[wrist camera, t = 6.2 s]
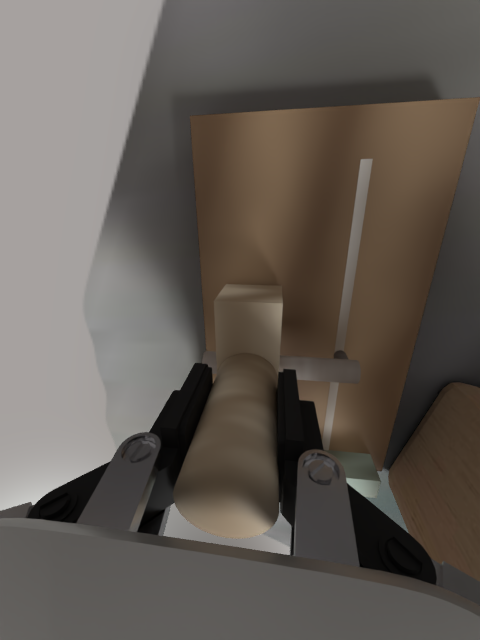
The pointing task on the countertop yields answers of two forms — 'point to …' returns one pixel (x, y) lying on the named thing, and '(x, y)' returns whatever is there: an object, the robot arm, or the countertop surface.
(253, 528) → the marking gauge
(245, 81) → the countertop surface
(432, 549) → the wooden block
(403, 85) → the countertop surface
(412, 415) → the countertop surface
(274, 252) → the walnut board
